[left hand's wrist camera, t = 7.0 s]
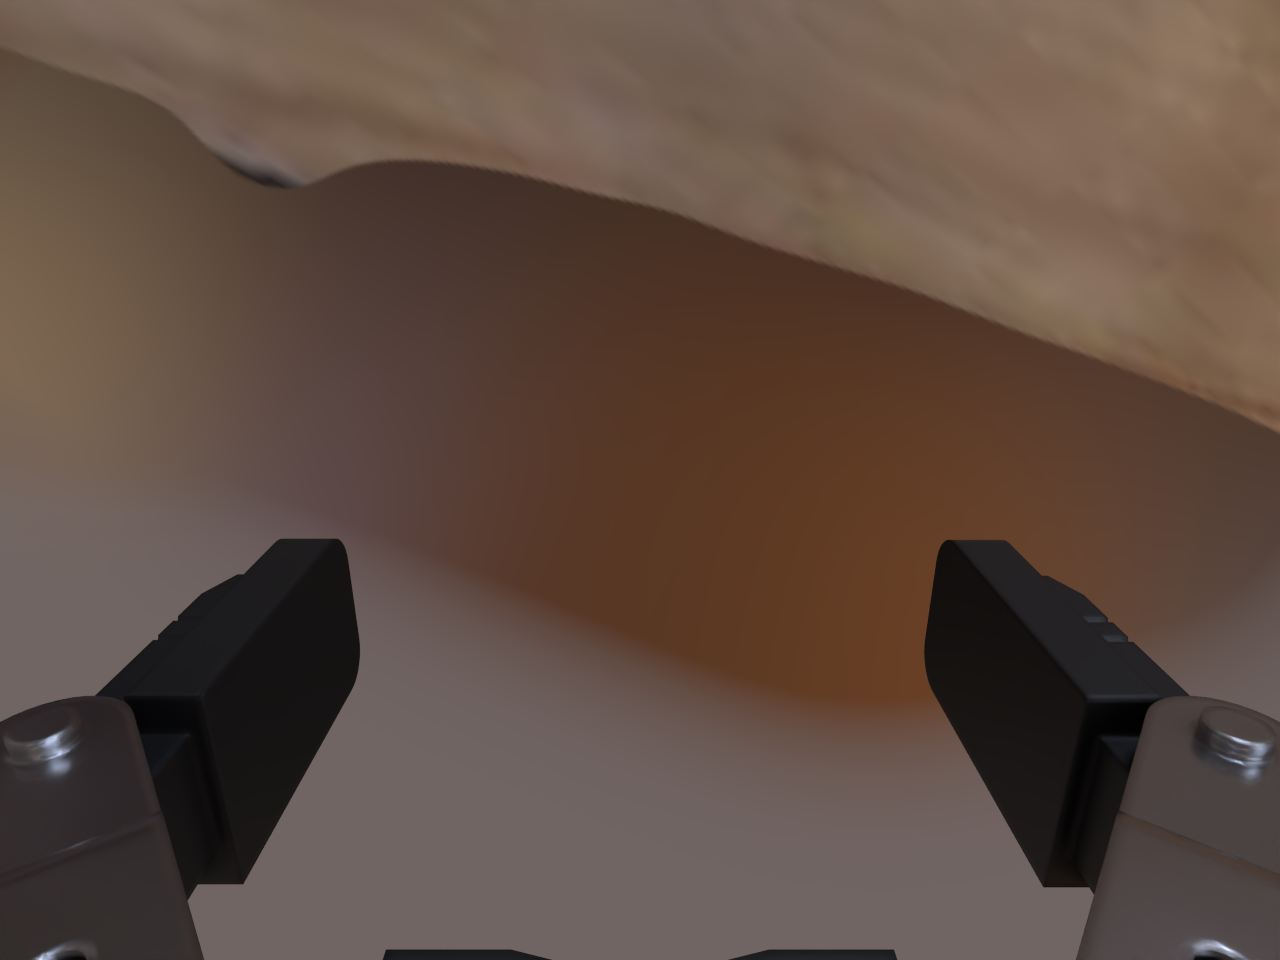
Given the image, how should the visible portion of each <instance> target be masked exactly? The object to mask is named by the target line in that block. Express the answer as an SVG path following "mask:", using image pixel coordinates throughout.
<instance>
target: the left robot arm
mask: <svg viewBox="0 0 1280 960" xmlns="http://www.w3.org/2000/svg"><path fill="white" fill-rule="evenodd" d="M924 655H925V667H926V672H927V677H928V681H929V684H930V687H931V689H932V691H933V693H934V695H935V696H936V698H937V700H938V702H939V703H940V705H941V707H942V709H943V711H944V712H945V714H946V716H947V718H948V719H949V721H950V723H951V725H952V726H953V728H954V730H955V732H956V734H957V735H958V737H959V739H960V740H961V742H962V744H963V746H964V748H965V749H966V751H967V753H968V755H969V756H970V758H971V760H972V762H973V764H974V765H975V767H976V769H977V770H978V772H979V774H980V776H981V778H982V779H983V781H984V783H985V785H986V786H987V788H988V790H989V792H990V794H991V795H992V797H993V799H994V801H995V802H996V804H997V806H998V808H999V810H1000V811H1001V813H1002V815H1003V817H1004V818H1005V820H1006V822H1007V824H1008V825H1009V827H1010V829H1011V831H1012V833H1013V834H1014V836H1015V838H1016V840H1017V841H1018V843H1019V845H1020V847H1021V848H1022V850H1023V852H1024V854H1025V855H1026V857H1027V859H1028V861H1029V863H1030V864H1031V866H1032V868H1033V870H1034V871H1035V873H1036V875H1037V877H1038V878H1039V880H1040V882H1041V884H1042V886H1043V887H1090V889H1091V891H1092V892H1093V894H1094V897H1093V901H1092V904H1091V908H1090V912H1089V915H1088V919H1087V922H1086V926H1085V929H1084V933H1083V936H1082V940H1081V943H1080V947H1079V950H1078V954H1077V958H1076V960H1280V722H1279V721H1277V720H1275V719H1273V718H1271V717H1269V716H1267V715H1264V714H1262V713H1259V712H1257V711H1255V710H1252V709H1249V708H1246V707H1243V706H1241V705H1238V704H1234V703H1230V702H1227V701H1223V700H1218V699H1213V698H1207V697H1198V696H1190V695H1189V694H1188V693H1186V692H1185V691H1184V690H1183V689H1182V688H1181V687H1180V686H1179V685H1178V684H1177V683H1176V682H1175V681H1174V680H1173V679H1172V678H1171V677H1170V676H1169V675H1167V674H1166V673H1165V672H1164V671H1163V670H1162V669H1161V668H1160V667H1159V666H1158V665H1157V664H1156V663H1155V662H1154V661H1153V660H1152V659H1151V658H1150V657H1148V656H1147V655H1146V654H1145V653H1144V652H1143V651H1142V650H1141V649H1140V648H1139V647H1138V646H1137V645H1136V644H1135V643H1134V642H1128V637H1127V636H1126V635H1125V634H1124V633H1123V632H1122V631H1121V630H1120V629H1119V628H1118V627H1117V626H1116V625H1115V624H1114V623H1112V622H1108V618H1107V617H1106V616H1105V615H1104V614H1103V613H1102V612H1101V611H1100V610H1099V609H1098V608H1097V607H1096V606H1095V605H1094V604H1093V603H1092V602H1091V601H1090V600H1088V599H1087V598H1086V597H1085V596H1084V595H1083V594H1081V593H1079V592H1077V591H1075V590H1073V589H1071V588H1070V587H1068V586H1066V585H1064V584H1062V583H1060V582H1058V581H1056V580H1055V579H1053V578H1051V577H1049V576H1042V575H1040V573H1039V572H1038V571H1037V570H1036V569H1034V568H1033V566H1032V565H1030V564H1029V562H1028V561H1027V560H1026V559H1025V558H1024V557H1023V556H1022V555H1020V554H1019V552H1018V551H1016V550H1015V548H1013V546H1012V545H1011V544H1009V543H1008V542H1007V541H1005V540H946V541H945V542H944V543H943V544H942V545H941V547H940V550H939V552H938V556H937V561H936V568H935V575H934V582H933V589H932V596H931V603H930V610H929V617H928V624H927V631H926V638H925V649H924ZM359 659H360V643H359V634H358V627H357V620H356V613H355V606H354V599H353V592H352V585H351V578H350V571H349V564H348V557H347V553H346V550H345V547H344V545H343V543H342V542H341V541H340V540H339V539H280V540H278V541H276V542H275V543H274V544H273V545H272V546H271V547H270V548H269V549H268V550H267V551H266V552H265V553H264V554H263V555H262V556H261V557H260V558H259V559H258V560H257V561H256V563H255V564H254V565H253V566H252V567H251V568H250V569H249V570H248V571H247V572H246V573H245V574H243V575H242V574H241V575H239V574H238V575H236V576H234V577H232V578H230V579H228V580H226V581H224V582H223V583H221V584H219V585H217V586H215V587H213V588H211V589H210V590H208V591H206V592H204V593H202V594H201V595H200V596H199V597H198V598H197V599H196V600H195V601H193V602H192V603H191V604H190V605H189V606H188V607H187V608H186V609H185V610H184V611H183V612H182V613H181V614H180V615H179V616H178V621H173V622H172V623H171V624H169V625H168V626H167V627H166V628H165V629H164V630H163V631H162V632H161V633H160V634H159V635H158V640H153V641H152V642H151V643H150V644H149V645H148V646H147V647H145V648H144V649H143V650H142V651H141V652H140V653H139V654H138V655H137V656H136V657H135V658H134V659H133V660H132V661H131V662H130V663H129V664H128V665H127V666H126V667H125V668H124V669H123V670H122V671H120V672H119V673H118V674H117V675H116V676H115V677H114V678H113V679H112V680H111V681H110V682H109V683H108V684H107V685H106V686H105V687H104V688H103V689H102V690H101V691H100V692H98V693H97V694H96V695H95V696H82V697H73V698H67V699H62V700H57V701H54V702H50V703H46V704H43V705H39V706H37V707H34V708H31V709H28V710H25V711H23V712H21V713H18V714H16V715H13V716H11V717H9V718H7V719H5V720H3V721H1V722H0V960H204V958H203V954H202V950H201V947H200V943H199V940H198V936H197V933H196V929H195V926H194V922H193V919H192V915H191V912H190V908H189V904H188V899H189V897H190V896H191V894H192V893H193V891H194V889H195V888H196V886H197V885H198V884H244V882H245V880H246V878H247V876H248V875H249V873H250V871H251V869H252V867H253V866H254V864H255V862H256V860H257V859H258V857H259V855H260V853H261V851H262V850H263V848H264V846H265V844H266V842H267V841H268V839H269V837H270V835H271V833H272V832H273V830H274V828H275V826H276V824H277V823H278V821H279V819H280V817H281V815H282V814H283V812H284V810H285V808H286V807H287V805H288V803H289V801H290V799H291V798H292V796H293V794H294V792H295V790H296V789H297V787H298V785H299V783H300V781H301V780H302V778H303V776H304V774H305V773H306V771H307V769H308V767H309V765H310V764H311V762H312V760H313V758H314V756H315V755H316V753H317V751H318V749H319V748H320V746H321V744H322V742H323V740H324V739H325V737H326V735H327V733H328V731H329V730H330V728H331V726H332V724H333V722H334V721H335V719H336V717H337V715H338V713H339V712H340V710H341V708H342V706H343V705H344V703H345V701H346V699H347V697H348V696H349V694H350V692H351V690H352V688H353V686H354V684H355V681H356V677H357V673H358V668H359ZM383 960H550V959H546V958H542V957H538V956H534V955H530V954H526V953H522V952H518V951H514V950H386V952H385V955H384V958H383ZM730 960H897V958H896V955H895V952H894V950H766V951H762V952H758V953H754V954H750V955H746V956H742V957H738V958H734V959H730Z"/></svg>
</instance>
